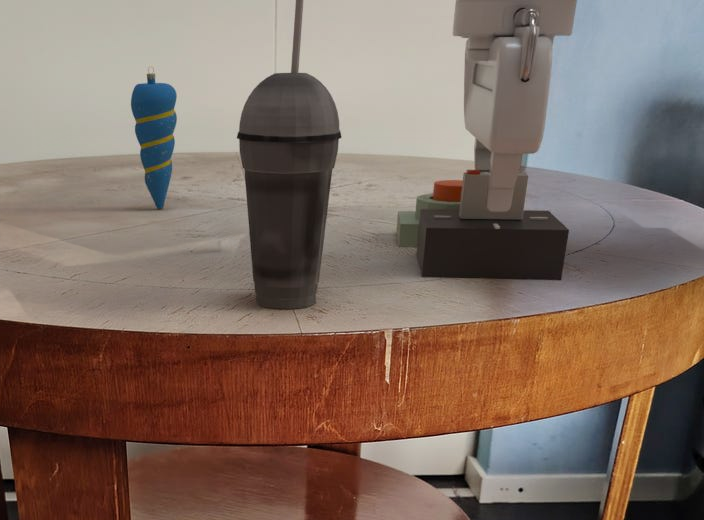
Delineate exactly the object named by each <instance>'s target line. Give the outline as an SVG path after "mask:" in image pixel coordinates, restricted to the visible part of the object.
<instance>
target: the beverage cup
mask: <svg viewBox="0 0 704 520" xmlns="http://www.w3.org/2000/svg"><path fill="white" fill-rule="evenodd" d="M303 12H304V0H295V8H294V22H293V37H292V52H291V66H290V67H291V68H290V72H274V73H273V74H270V75H269V76H267V77H266V78H264V79H263V80H261V81H260V82H259V83H258V84H257V85H256V86H255V87H254V88H253V89H252V90H251V92H250V93H249V95H248V97H247V99H246V101H245V103H244V105H243V107H242V110H241V114H240V119H239V125H238V126H239V128H238V132H237V135H236V139H238V141H239V143H238V144H239V156H240V160H241V166H242V169H244V180H245V181H244V182H245V193H246V207H247V218H248V219H247V220H248V231H249V245H250V257H251V271H252V282H253V286H254V292H255V303H256V304H257V305H259V306H261V307H265V308H269V309H277V310H294V309H295V310H296V309H302V308H308V307H311V306H313V305H314V304H316V298H317V292H318V285H319V282H320V278H321V277H320V276H321V267H322V259H323V250H324V241H325V232H326V225H327V218H328V208H329V202H330V201H329V200H330V191H331V185H332V176H333V170H334V169H335V165H336V161H337V156H338V152H339V140H340V139H342V132H341V130H340V118H339V112H338V109H337V105H336V102H335V101H334V98H333V95H332V94H331V93H330V90H328V88H327V87H326V86H325V85H324V84H323V83H322V82H321V80H319V79H318V78H316V77H315V76H313V75H311V74H309V73H307V72H299V68H300V58H301V57H300V54H301V41H302V28H303V27H302V26H303Z"/></svg>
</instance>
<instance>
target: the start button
mask: <svg viewBox="0 0 704 520" xmlns="http://www.w3.org/2000/svg"><path fill="white" fill-rule="evenodd" d="M462 183H463V179H445V180H437V181H434V182H433V189H432V193H433V200H437V201H446V202H461V193H462Z"/></svg>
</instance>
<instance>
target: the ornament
mask: <svg viewBox="0 0 704 520" xmlns="http://www.w3.org/2000/svg"><path fill="white" fill-rule="evenodd" d="M150 68H152V70H153V71H152V73H150V72H149V70H150ZM147 72H148V73H146V81H147V82H145V83H144V82H143V83H137V84H136V85H134V88H133V90H132V92H131V98H130V108H131V112H132V116H133V118H134V121H135V125H134V134H135V136H136V139H137V142H138V144H139V146H140V150H139V153H140V154H139V158H140V161H141V165H142V167H143V170H144V184H145V186H146V188H147V190H148V192H149V194H150V196H151V198H152V201H153V202H154V205H155V207H156V209H157V210H162V209H164V207H165V202H166V198H167V194H168V191H169V186H170V182H171V180H172V179H171V178H172V174H173V161H172V156H173V153H174V150H175V144H176V140H175V136H174V133H175V129H176V127H177V121H178V117H177V112H176V110H175V107H176V103H177V96H178V95H177V91H176V89H175V88H174V87H173V85H171V84H170V83H167V82H166V83H165V82H156V73H154V72H155V69H154V68H153V66H149V67H148V68H147Z"/></svg>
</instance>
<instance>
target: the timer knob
mask: <svg viewBox="0 0 704 520" xmlns="http://www.w3.org/2000/svg"><path fill="white" fill-rule="evenodd" d="M489 178H490V173H480V171H479V170H475V169H466V171H465V172H463V175H462V180H463V183H462V193H461V202H460V212H459V217H460V218H461V219H496V220H522V219H523V212H524V210H525V205H526V204H525V203H526V197H527V188H528V181H529V175H528V174H527V173H526V172H519V174H518V177H517V180H516V183H515V186H514V189H513V196H512V203H511V208H510V210H508V211H507V212H491V211H489V210H488V209H487V207H486V204H485V202H486V194H487V186H488V185H489Z"/></svg>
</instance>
